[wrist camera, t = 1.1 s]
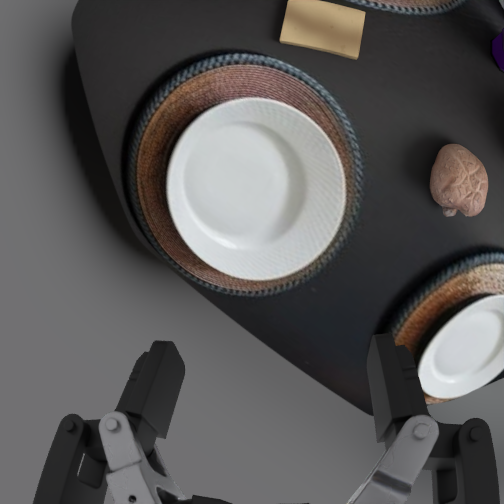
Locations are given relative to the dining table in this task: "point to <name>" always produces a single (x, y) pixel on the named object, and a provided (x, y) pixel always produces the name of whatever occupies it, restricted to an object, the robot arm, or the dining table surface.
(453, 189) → the brown rounded lump
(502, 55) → the potion bottle
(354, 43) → the board
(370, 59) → the dining table surface
